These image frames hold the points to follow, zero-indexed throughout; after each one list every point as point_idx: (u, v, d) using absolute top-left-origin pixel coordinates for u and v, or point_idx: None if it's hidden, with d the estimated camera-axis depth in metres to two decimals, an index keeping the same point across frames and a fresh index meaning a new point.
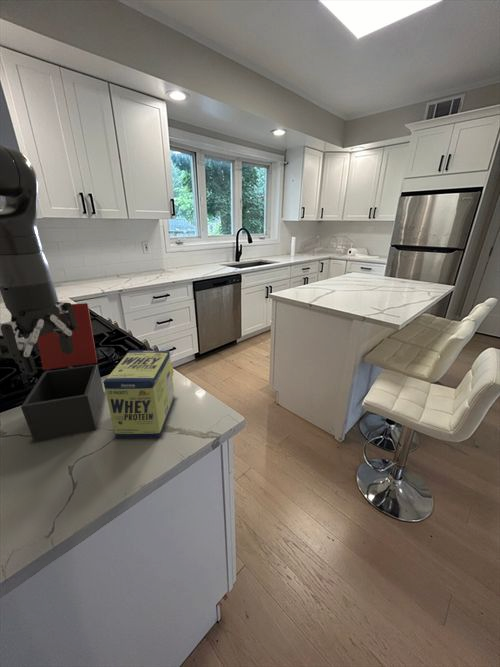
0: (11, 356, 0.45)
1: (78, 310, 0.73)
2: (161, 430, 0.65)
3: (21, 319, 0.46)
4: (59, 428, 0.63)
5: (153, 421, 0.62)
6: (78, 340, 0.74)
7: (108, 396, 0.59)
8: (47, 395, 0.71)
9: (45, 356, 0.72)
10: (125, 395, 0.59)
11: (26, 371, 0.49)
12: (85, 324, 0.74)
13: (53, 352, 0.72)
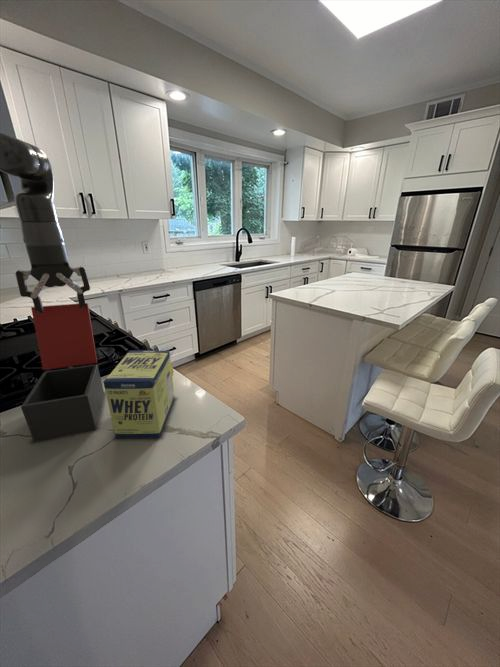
0: (20, 294, 0.64)
1: (78, 310, 0.73)
2: (161, 430, 0.65)
3: (32, 270, 0.64)
4: (59, 428, 0.63)
5: (153, 421, 0.62)
6: (78, 340, 0.74)
7: (108, 396, 0.59)
8: (47, 395, 0.71)
9: (45, 356, 0.72)
10: (125, 395, 0.59)
11: (35, 308, 0.67)
12: (85, 324, 0.74)
13: (53, 352, 0.72)
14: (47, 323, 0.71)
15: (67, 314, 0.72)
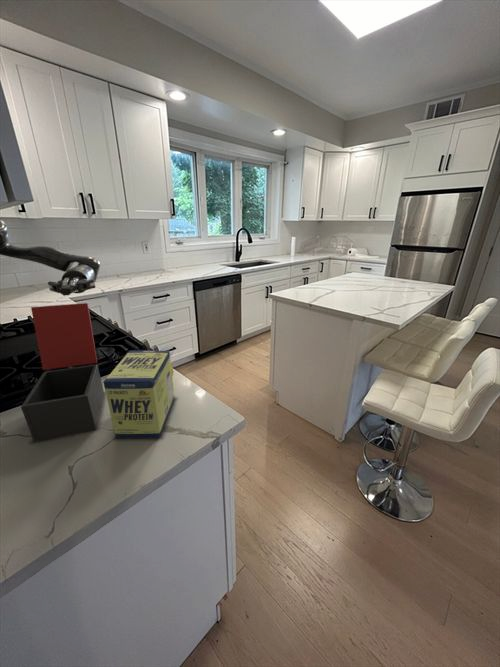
0: (55, 285, 0.79)
1: (78, 310, 0.73)
2: (161, 430, 0.65)
3: (58, 281, 0.85)
4: (59, 428, 0.63)
5: (153, 421, 0.62)
6: (78, 340, 0.74)
7: (108, 396, 0.59)
8: (47, 395, 0.71)
9: (45, 356, 0.72)
10: (125, 395, 0.59)
11: (59, 289, 0.77)
12: (85, 324, 0.74)
13: (53, 352, 0.72)
14: (47, 323, 0.71)
15: (67, 314, 0.72)
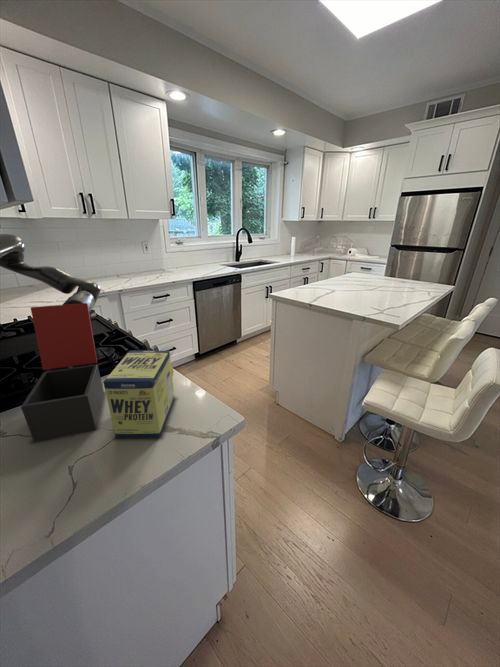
0: None
1: (78, 310, 0.73)
2: (161, 430, 0.65)
3: None
4: (59, 428, 0.63)
5: (153, 421, 0.62)
6: (78, 340, 0.74)
7: (108, 396, 0.59)
8: (47, 395, 0.71)
9: (45, 356, 0.72)
10: (125, 395, 0.59)
11: None
12: (85, 324, 0.74)
13: (52, 352, 0.72)
14: (46, 324, 0.71)
15: (67, 314, 0.72)
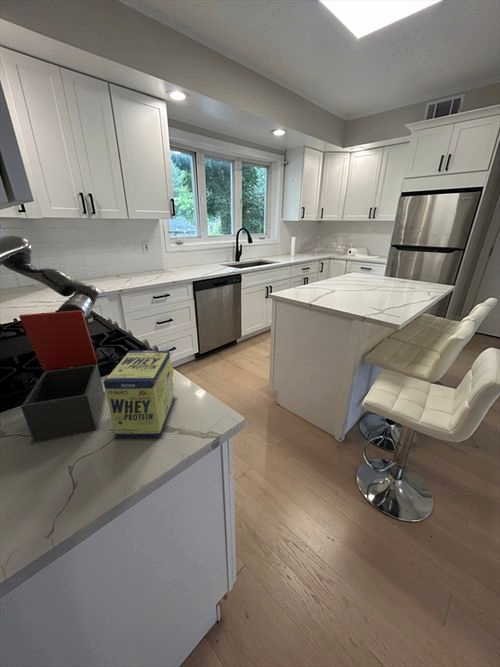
0: None
1: (72, 318, 0.67)
2: (161, 430, 0.65)
3: None
4: (59, 428, 0.63)
5: (153, 421, 0.62)
6: (76, 345, 0.71)
7: (108, 396, 0.59)
8: (47, 395, 0.71)
9: (43, 359, 0.70)
10: (125, 395, 0.59)
11: None
12: (81, 331, 0.69)
13: (50, 356, 0.70)
14: (40, 331, 0.66)
15: (60, 322, 0.67)
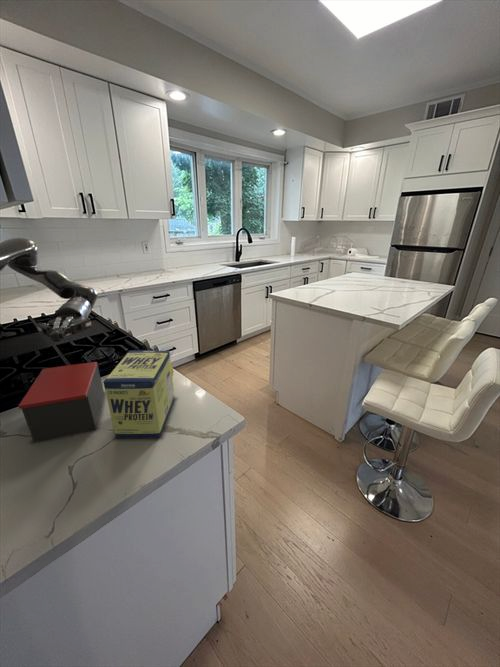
0: (45, 328, 0.69)
1: None
2: (161, 430, 0.65)
3: (49, 321, 0.74)
4: (59, 428, 0.63)
5: (153, 421, 0.62)
6: None
7: (108, 396, 0.59)
8: None
9: None
10: (125, 395, 0.59)
11: (50, 335, 0.66)
12: None
13: None
14: None
15: None
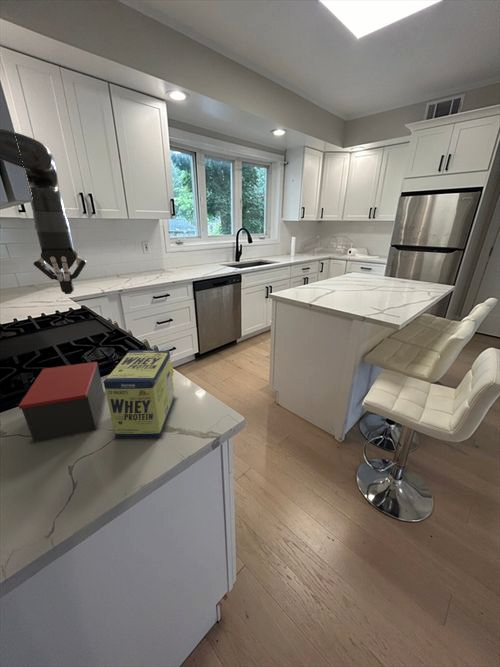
0: (50, 278, 0.77)
1: None
2: (161, 430, 0.65)
3: (41, 255, 0.74)
4: (59, 428, 0.63)
5: (153, 421, 0.62)
6: None
7: (108, 396, 0.59)
8: None
9: None
10: (125, 395, 0.59)
11: (61, 290, 0.79)
12: None
13: None
14: None
15: None
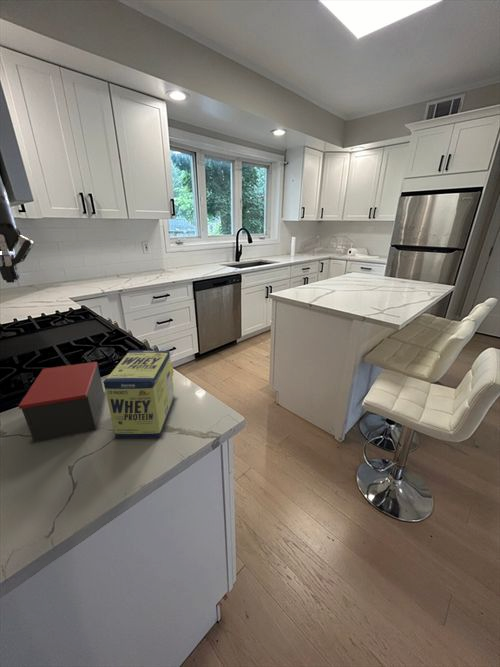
0: None
1: None
2: (161, 430, 0.65)
3: None
4: (59, 428, 0.63)
5: (153, 421, 0.62)
6: None
7: (108, 396, 0.59)
8: None
9: None
10: (125, 395, 0.59)
11: (2, 277, 0.64)
12: None
13: None
14: None
15: None
